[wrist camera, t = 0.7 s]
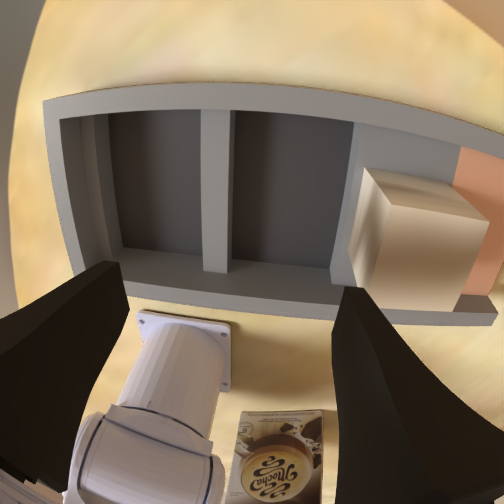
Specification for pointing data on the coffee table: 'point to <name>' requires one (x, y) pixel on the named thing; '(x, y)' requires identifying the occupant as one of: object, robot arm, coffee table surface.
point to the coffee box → (277, 459)
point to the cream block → (413, 241)
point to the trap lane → (255, 191)
